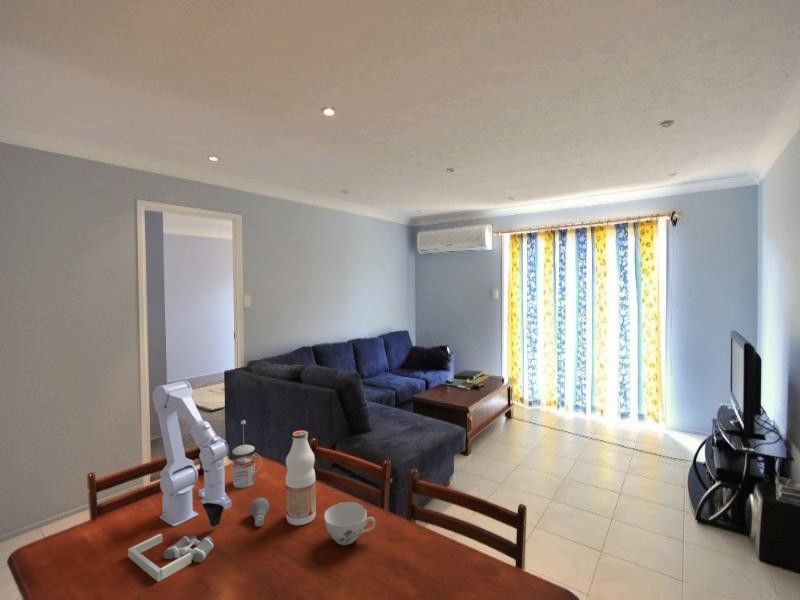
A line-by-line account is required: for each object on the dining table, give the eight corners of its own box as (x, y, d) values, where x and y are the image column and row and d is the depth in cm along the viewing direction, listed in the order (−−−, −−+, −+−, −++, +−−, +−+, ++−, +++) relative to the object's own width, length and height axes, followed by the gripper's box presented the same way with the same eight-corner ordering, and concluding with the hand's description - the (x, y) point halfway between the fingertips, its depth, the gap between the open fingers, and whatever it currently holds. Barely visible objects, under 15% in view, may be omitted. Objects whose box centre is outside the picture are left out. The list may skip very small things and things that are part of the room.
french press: (238, 478, 157) (237, 416, 157) (266, 479, 156) (265, 416, 156) (225, 490, 147) (224, 424, 147) (254, 492, 146) (254, 425, 146)
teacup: (319, 552, 111) (319, 524, 111) (329, 526, 124) (329, 501, 124) (373, 553, 111) (372, 525, 111) (377, 527, 123) (376, 502, 123)
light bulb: (263, 512, 123) (263, 490, 132) (245, 523, 122) (246, 500, 131) (272, 525, 125) (272, 502, 134) (255, 535, 124) (256, 511, 133)
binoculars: (162, 560, 109) (162, 548, 109) (182, 542, 117) (182, 530, 117) (202, 564, 107) (202, 551, 107) (219, 545, 115) (219, 533, 115)
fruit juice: (296, 529, 122) (295, 440, 122) (280, 518, 129) (279, 433, 128) (321, 517, 129) (320, 432, 129) (305, 507, 135) (304, 425, 135)
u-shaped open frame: (128, 557, 110) (128, 549, 110) (160, 541, 117) (160, 533, 117) (158, 582, 100) (158, 572, 100) (191, 563, 107) (191, 553, 107)
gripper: (189, 480, 123) (189, 523, 123) (215, 493, 115) (216, 539, 115) (210, 471, 128) (211, 513, 129) (237, 483, 120) (237, 527, 121)
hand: (215, 524), depth 122 cm, fingers closed
